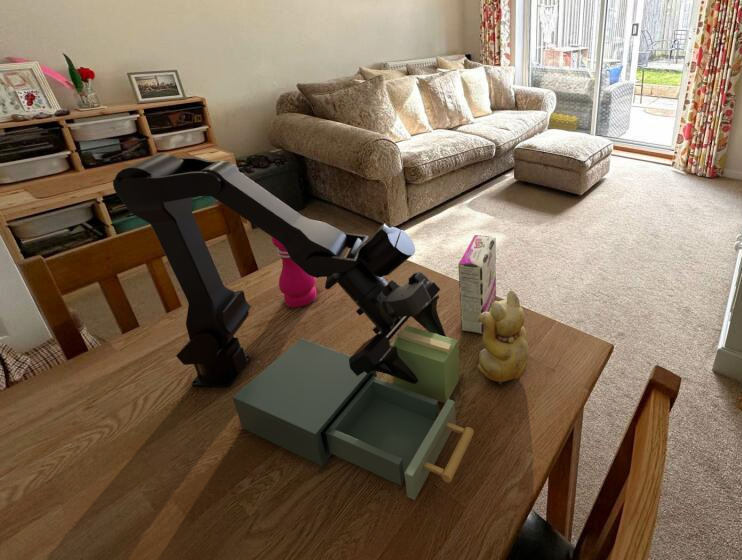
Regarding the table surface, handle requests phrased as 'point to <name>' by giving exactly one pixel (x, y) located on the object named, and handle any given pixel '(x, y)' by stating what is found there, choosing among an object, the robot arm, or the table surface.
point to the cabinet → (300, 398)
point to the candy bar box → (477, 282)
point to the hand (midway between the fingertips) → (431, 360)
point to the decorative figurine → (504, 340)
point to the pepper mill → (294, 280)
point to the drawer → (397, 434)
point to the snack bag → (428, 362)
